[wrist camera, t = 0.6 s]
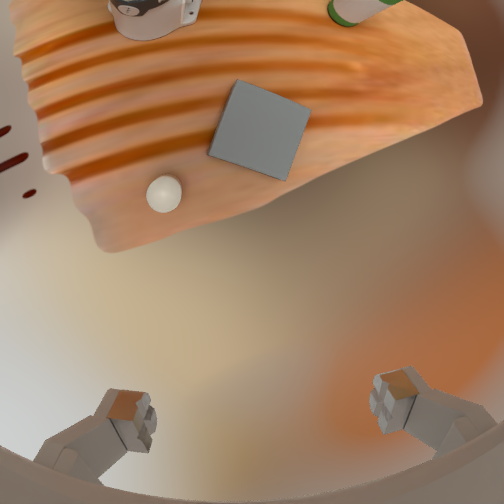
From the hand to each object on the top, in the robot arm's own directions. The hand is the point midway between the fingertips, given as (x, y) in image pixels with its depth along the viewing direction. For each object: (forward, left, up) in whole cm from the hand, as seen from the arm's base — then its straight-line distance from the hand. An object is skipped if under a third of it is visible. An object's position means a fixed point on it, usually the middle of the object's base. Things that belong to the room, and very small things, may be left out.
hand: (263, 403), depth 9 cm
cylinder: (0, -6, -47) cm, 47 cm away
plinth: (-15, +6, -47) cm, 49 cm away
